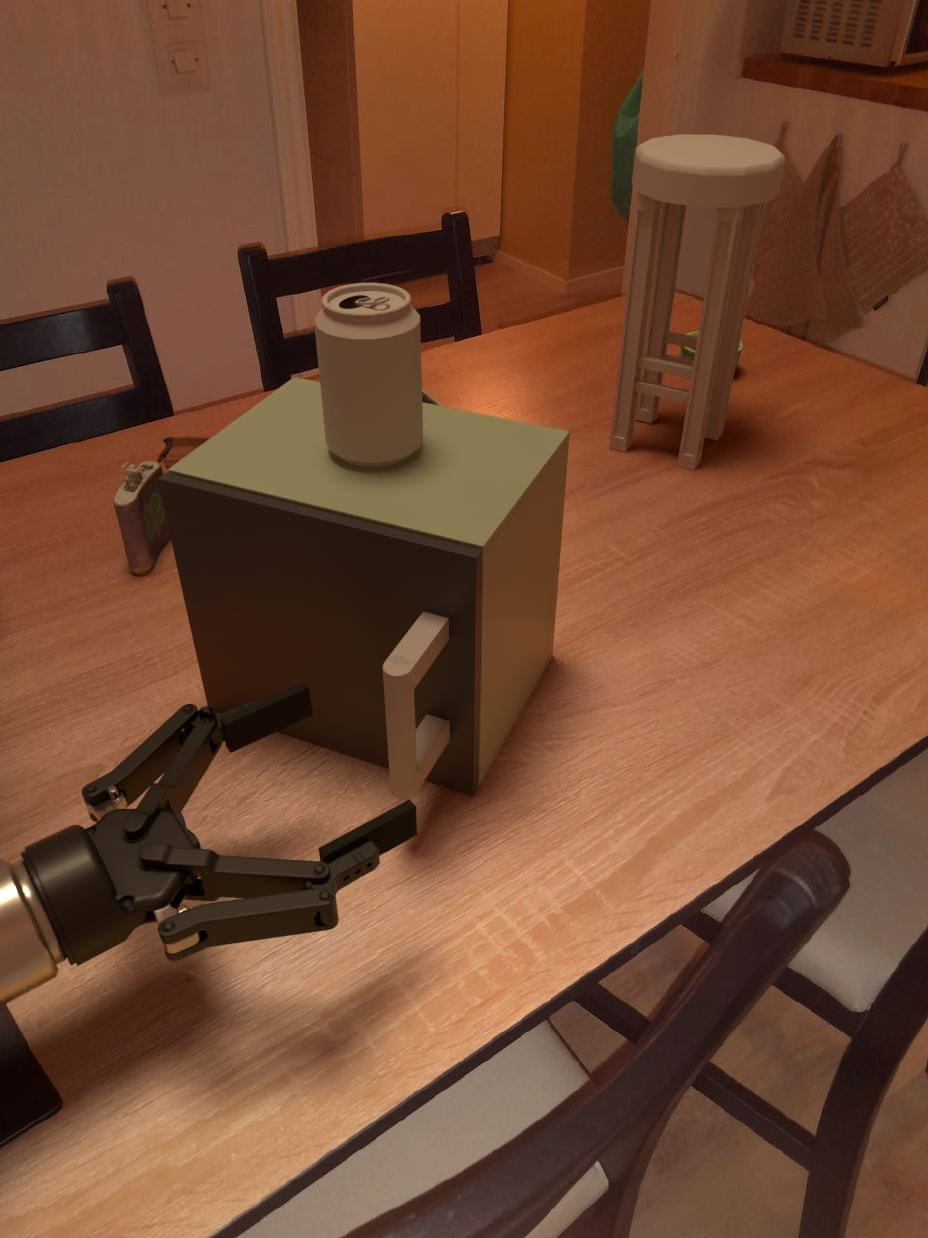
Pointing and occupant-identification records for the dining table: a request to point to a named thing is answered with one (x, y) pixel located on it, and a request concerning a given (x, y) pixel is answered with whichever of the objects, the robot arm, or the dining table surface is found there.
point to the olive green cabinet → (429, 515)
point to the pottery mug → (179, 448)
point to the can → (370, 373)
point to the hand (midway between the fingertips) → (358, 753)
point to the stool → (678, 178)
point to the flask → (142, 516)
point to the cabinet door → (335, 627)
